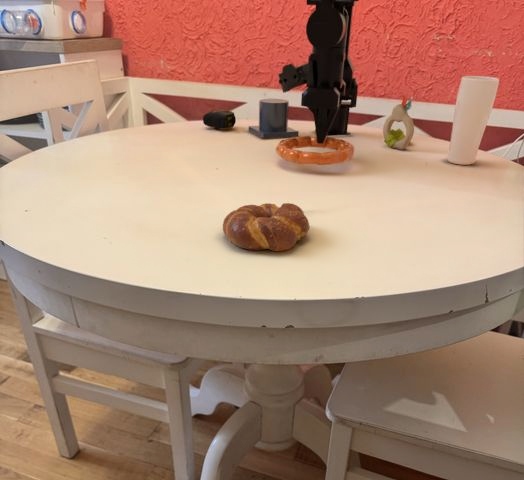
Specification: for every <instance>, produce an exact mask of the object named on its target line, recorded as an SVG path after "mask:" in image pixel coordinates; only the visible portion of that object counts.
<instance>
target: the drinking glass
mask: <svg viewBox="0 0 524 480" xmlns="http://www.w3.org/2000/svg"><path fill="white" fill-rule="evenodd" d="M499 84H500V78H499V77H493V76H483V75H463V76H462V77H461V79H460V82H459V86H458V90H457V95H456V100H455V105H454V113H453V120H452V127H451V133H450V139H449V140H450V141H449V147H448V153H447V157H446V158H447V161H448V162H449V163H451V164H455V165H460V166H468V165H469V166H470V165H473V164H474V163H475V162H476V159H477V155H478V151H479V148H480V146H481V143H482V139H483V137H484V133H485V130H486V128H487V125H488V122H489V119H490V116H491V114H492V110H493V107H494V104H495V100H496V97H497V93H498V89H499Z"/></svg>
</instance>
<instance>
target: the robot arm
mask: <svg viewBox="0 0 524 480" xmlns="http://www.w3.org/2000/svg"><path fill="white" fill-rule="evenodd" d="M359 1H360V0H306V5H307V6H315V10H313V12H311V13H310V15H309V17H308V18H307V22H306V26H305V34H306V37H307V40H308V43H310V45H311V46H312V50H311V53H310V54H309V55H308V57H307V58H308V60H307V62H305V63H303V64H300V65H298V66H296V65H295V64H294V63H292V62H291V63H289V64H285V65H283V66H282V69H281V72H280V73H278V74H277V75H278V83H279V85H280V86H281V90H282V93H287V92H290V91H291V90H292V89H295V88H298V87H301V86H304V85H306V86H305V88H306V89H305V90H304V91H302V93H301V99H300V100H301V101H300V106H301V107H304V108H305V107H306V108H307V109H308V110H309V111H310V112H311V113H312V115H313V121H314V127H315V129H314V132H315V136H316V137H317V143H320V144H323V142H324V140H325V138H326V137H333V136H336V137H337V136H349V135H351V132H349V131H348V127H349V117H350V110H351V109H353V108H357V102H358V92H359V84H357V78H356V77H354V73H355V66H354V65H353V62H352V60H351V58H350V56H349V55H350V45H351V37H352V36H351V33H352V25H353V16H354V15H353V14H354V7H355V4H356V2H359Z"/></svg>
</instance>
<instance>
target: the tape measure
mask: <svg viewBox="0 0 524 480" xmlns="http://www.w3.org/2000/svg"><path fill="white" fill-rule="evenodd" d="M236 120H237V119H236V115H235V112H234V111H230V110H223V109H220V110H219V109H218V110H217V109H216V110H211V111H209V112H207V113H205V114H204V115H203V116H202V122H203V125H205V126H207V127H209V128H214V129H215V130H218V131H219V130H221V129H222V130H226V129H231V128H233V127H235V124H236V122H237V121H236Z"/></svg>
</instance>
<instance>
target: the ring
mask: <svg viewBox="0 0 524 480" xmlns="http://www.w3.org/2000/svg"><path fill="white" fill-rule="evenodd" d="M303 148H304V149H305V148H318V149H327V150H332V151H325V152H319V151H318V152H317V151H303V150H299V149H303ZM275 153H276V154H277V156H279V157H280V158H281V159H283V160H284V161H287V162H292V163H296V164H301V165H313V166H326V165H336V164H337V165H338V164H341V163H344V162H347V161H350V160H352V158H353V157H354V154H355V146H354V145H353V144H352V143H350V142H348V141H346V140H344V139H341V138H335V137H332V136H326V138H325V140H324V142H323V144H320V143H317V137H316V135H304V136H298V137H287V138H284V139H281V140H280V141H279V142H278V144H277V146H276V147H275Z"/></svg>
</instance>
